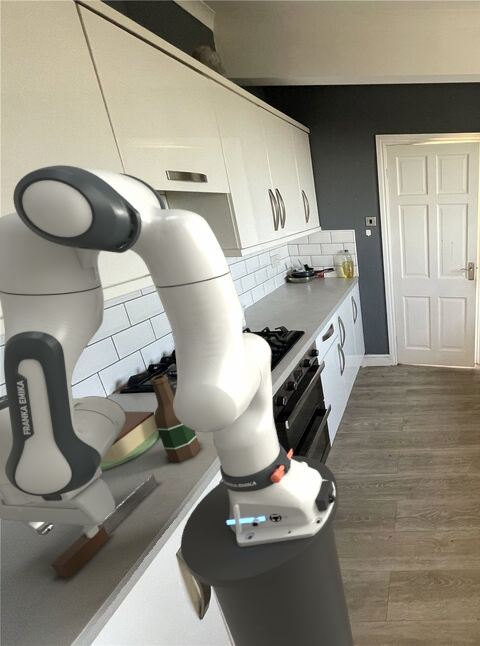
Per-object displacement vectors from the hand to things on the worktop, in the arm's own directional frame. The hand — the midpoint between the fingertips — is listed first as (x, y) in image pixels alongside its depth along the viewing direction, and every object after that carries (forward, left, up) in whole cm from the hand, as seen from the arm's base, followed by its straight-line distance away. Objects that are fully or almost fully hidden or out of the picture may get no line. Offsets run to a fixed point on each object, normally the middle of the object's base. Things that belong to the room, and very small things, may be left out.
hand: (68, 533), depth 67 cm
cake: (+22, -31, -7) cm, 39 cm away
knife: (-1, -7, -7) cm, 10 cm away
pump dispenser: (+8, -41, -7) cm, 43 cm away
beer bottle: (0, -29, -7) cm, 30 cm away
